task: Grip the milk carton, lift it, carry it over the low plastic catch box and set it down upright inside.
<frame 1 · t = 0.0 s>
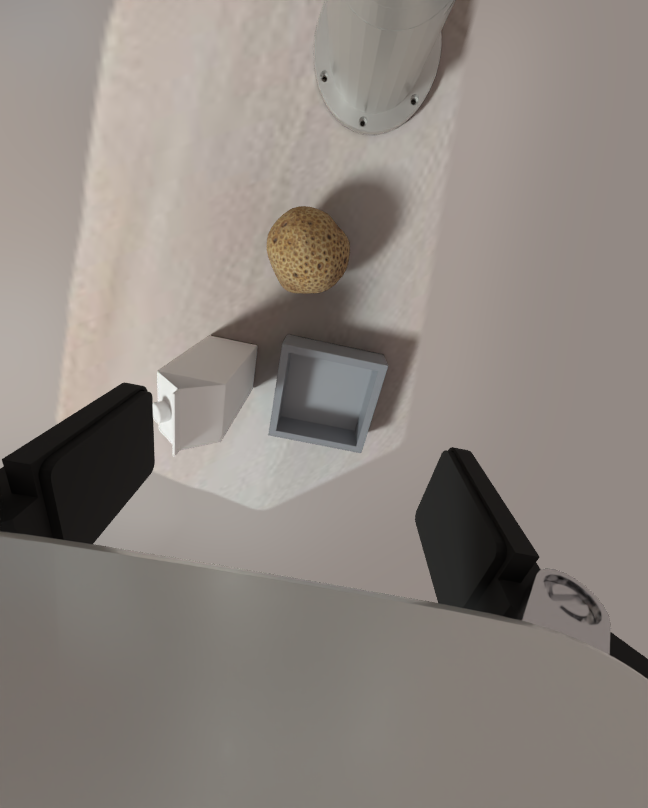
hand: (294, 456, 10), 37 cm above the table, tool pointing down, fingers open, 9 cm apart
catch box: (325, 388, 49), on the table
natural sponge: (312, 252, 41), on the table
milk carton: (232, 362, 48), on the table
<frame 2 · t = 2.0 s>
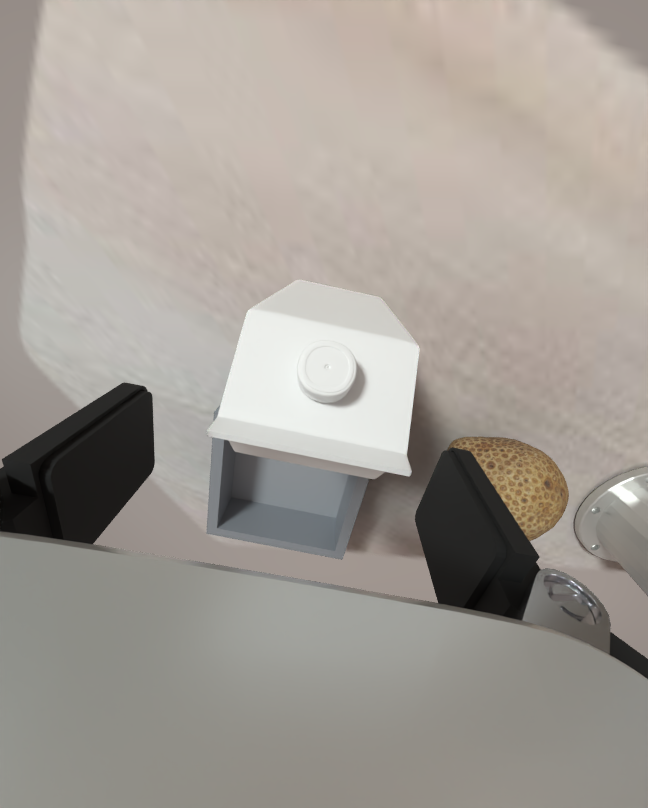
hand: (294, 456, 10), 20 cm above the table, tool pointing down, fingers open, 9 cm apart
catch box: (293, 462, 34), on the table
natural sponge: (476, 452, 33), on the table
milk carton: (331, 329, 28), on the table
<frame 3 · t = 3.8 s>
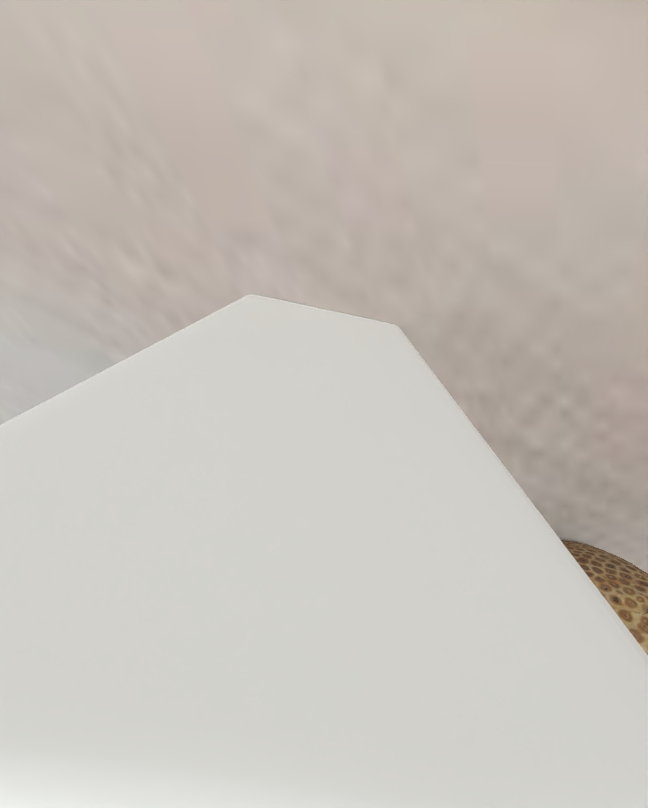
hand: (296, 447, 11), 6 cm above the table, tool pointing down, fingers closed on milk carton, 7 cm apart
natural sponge: (536, 551, 22), on the table
milk carton: (311, 376, 17), on the table, touching gripper
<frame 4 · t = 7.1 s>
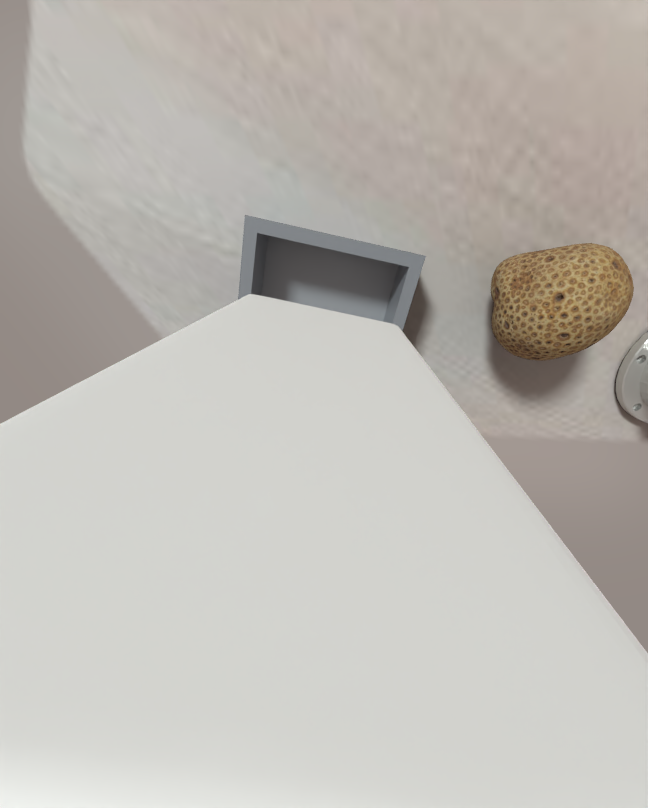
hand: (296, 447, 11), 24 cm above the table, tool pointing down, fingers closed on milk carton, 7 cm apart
catch box: (321, 315, 32), on the table
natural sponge: (517, 296, 31), on the table
milk carton: (311, 376, 17), point 17 cm above the table, touching gripper
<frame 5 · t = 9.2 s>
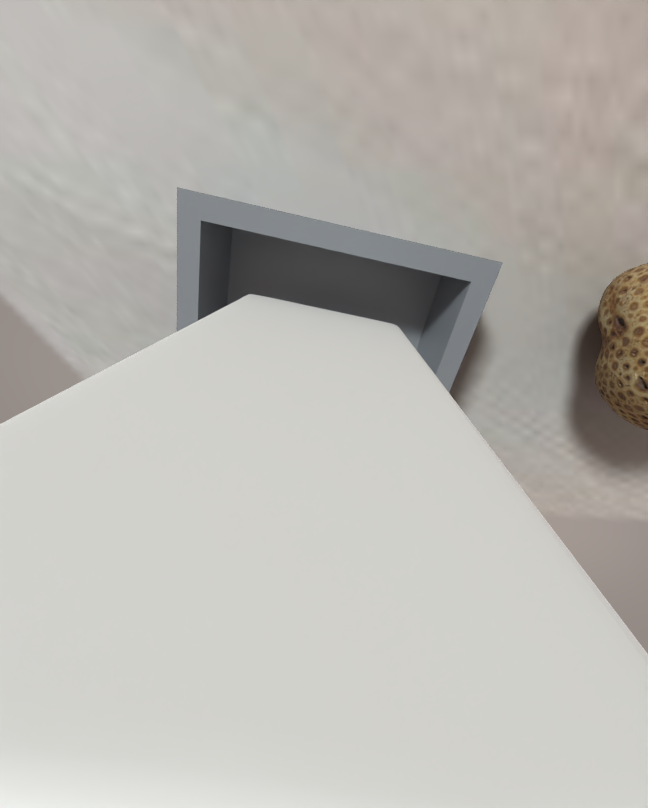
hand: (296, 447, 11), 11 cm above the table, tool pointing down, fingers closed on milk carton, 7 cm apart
catch box: (318, 350, 21), on the table
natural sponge: (624, 324, 20), on the table
milk carton: (311, 376, 17), point 5 cm above the table, touching gripper
when the fingers open (8 cm above the table, at t = 10.9 s): milk carton drops 1 cm, resting on catch box.
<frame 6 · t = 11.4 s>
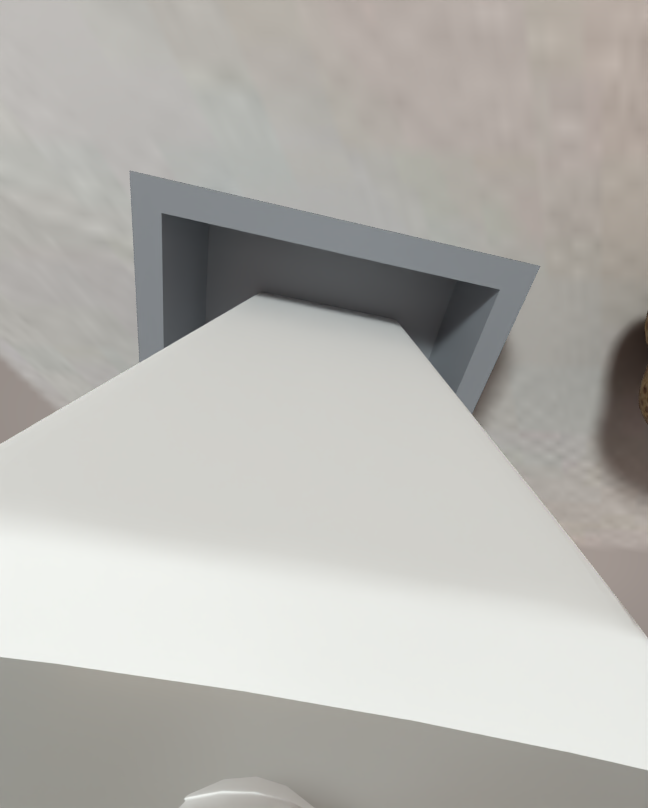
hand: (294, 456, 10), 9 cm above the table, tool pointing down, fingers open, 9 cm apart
catch box: (313, 365, 18), on the table
milk carton: (316, 368, 18), resting on catch box
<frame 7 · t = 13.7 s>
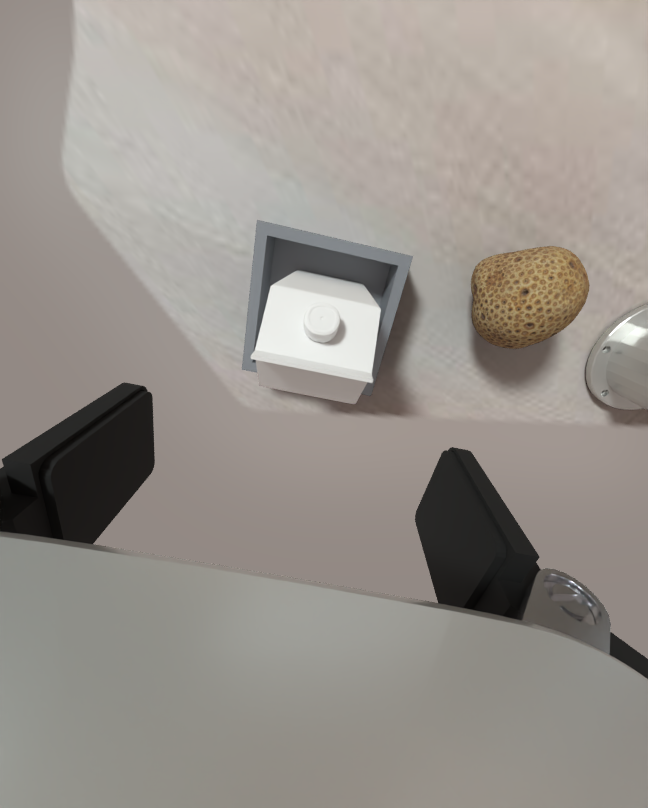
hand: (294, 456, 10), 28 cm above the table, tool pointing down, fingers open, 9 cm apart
catch box: (322, 308, 36), on the table
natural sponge: (496, 293, 35), on the table
milk carton: (324, 310, 36), resting on catch box
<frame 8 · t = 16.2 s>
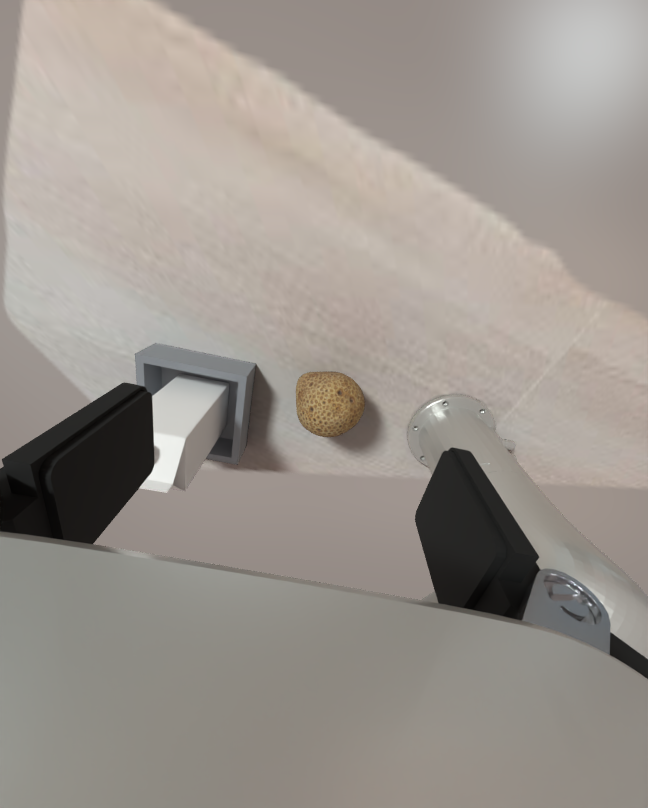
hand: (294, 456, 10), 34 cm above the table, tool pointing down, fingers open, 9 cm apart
catch box: (204, 398, 48), on the table
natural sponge: (330, 388, 47), on the table
milk carton: (204, 399, 48), resting on catch box
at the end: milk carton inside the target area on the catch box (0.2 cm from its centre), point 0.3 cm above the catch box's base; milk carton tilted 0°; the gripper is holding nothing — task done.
